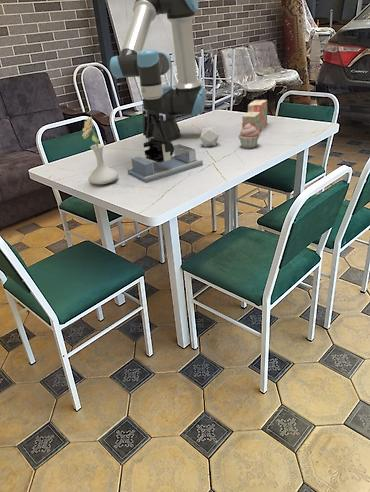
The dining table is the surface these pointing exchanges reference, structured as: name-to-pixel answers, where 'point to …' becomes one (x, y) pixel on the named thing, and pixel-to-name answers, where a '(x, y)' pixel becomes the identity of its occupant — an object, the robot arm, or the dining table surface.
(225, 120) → the dining table surface
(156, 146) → the end cap
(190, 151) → the block
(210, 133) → the die
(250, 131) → the cupcake
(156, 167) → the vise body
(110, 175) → the flower in vase
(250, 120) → the stack of blocks
